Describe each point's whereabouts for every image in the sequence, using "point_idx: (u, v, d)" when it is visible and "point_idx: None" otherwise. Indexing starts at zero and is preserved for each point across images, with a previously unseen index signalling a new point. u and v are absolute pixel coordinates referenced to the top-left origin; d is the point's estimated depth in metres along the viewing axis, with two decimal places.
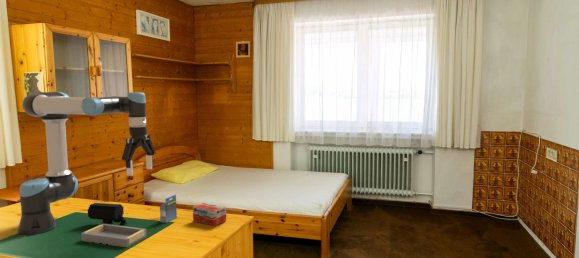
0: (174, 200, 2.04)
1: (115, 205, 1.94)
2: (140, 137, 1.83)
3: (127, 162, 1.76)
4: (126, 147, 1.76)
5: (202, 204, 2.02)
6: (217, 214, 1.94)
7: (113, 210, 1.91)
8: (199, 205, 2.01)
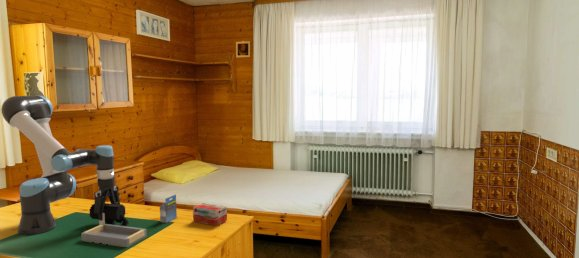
0: (174, 200, 2.04)
1: (117, 205, 1.93)
2: (108, 188, 1.94)
3: (99, 215, 1.90)
4: (96, 201, 1.88)
5: (202, 204, 2.02)
6: (219, 214, 1.94)
7: (115, 210, 1.91)
8: (199, 205, 2.00)
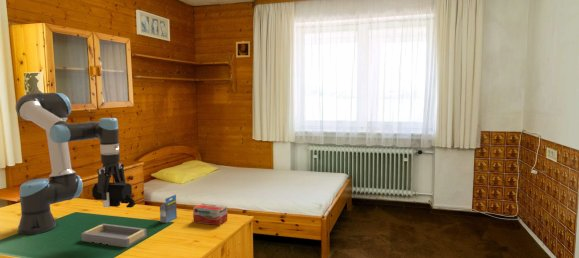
0: (174, 200, 2.04)
1: (123, 184, 1.75)
2: (112, 165, 1.75)
3: (103, 194, 1.71)
4: (99, 179, 1.69)
5: (202, 204, 2.02)
6: (220, 213, 1.94)
7: (120, 189, 1.72)
8: (199, 206, 2.00)
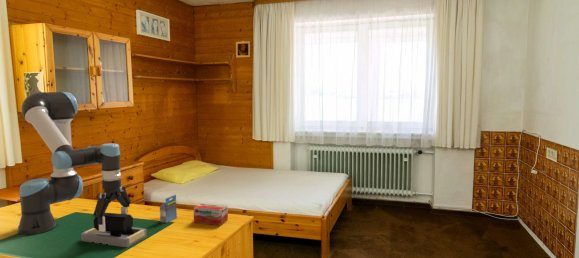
0: (174, 200, 2.04)
1: (124, 215, 1.75)
2: (114, 190, 1.75)
3: (99, 218, 1.69)
4: (98, 203, 1.68)
5: (202, 205, 2.01)
6: (222, 213, 1.95)
7: (121, 221, 1.72)
8: (200, 206, 1.99)
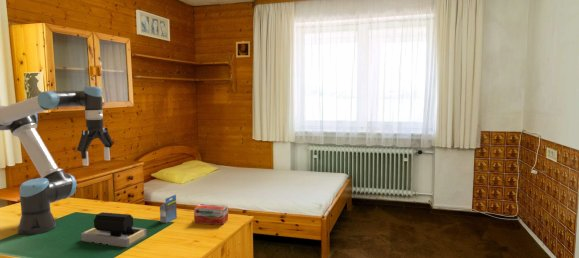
0: (174, 200, 2.04)
1: (124, 215, 1.75)
2: (96, 129, 1.91)
3: (82, 153, 1.84)
4: (81, 139, 1.84)
5: (202, 205, 2.01)
6: (223, 213, 1.96)
7: (122, 221, 1.72)
8: (200, 206, 1.99)
